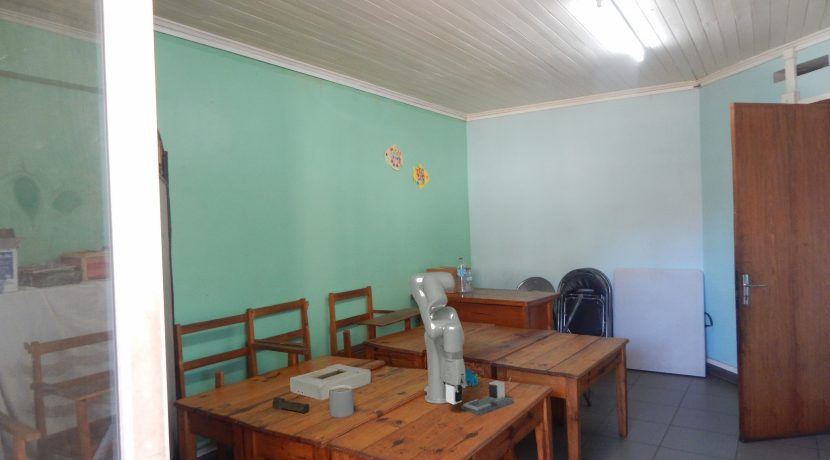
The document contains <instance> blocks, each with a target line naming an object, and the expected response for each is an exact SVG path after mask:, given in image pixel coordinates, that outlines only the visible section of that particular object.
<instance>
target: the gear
mask: <svg viewBox="0 0 830 460" xmlns="http://www.w3.org/2000/svg"><path fill="white" fill-rule="evenodd" d="M474 373H475V372H474V371H473V370H471V369H470V368H466V367H465V381H466V383H467V385H468V386H469V387H471V386H472V387H476V386H477V385H478V381H479V379H478V378H477V377H478V374H477V373H475V374H474Z"/></svg>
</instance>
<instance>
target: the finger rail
mask: <svg viewBox="0 0 830 460" xmlns="http://www.w3.org/2000/svg"><path fill="white" fill-rule="evenodd" d="M505 390H506V389H505V382H504V381H501V380H493V381H491V382H489V383H488V396H485V397H483V398H480V399H474V400H470V401H467V402H464V403H463V405H461V410H463V411H464V412H468V413H471V414H473V415H477V416H482V415H485V414H487V413H491V412H493V411H496V410H499V409H501V408H504V407H506V406H509V405H512V404H514V398H510V397H506V394H505Z"/></svg>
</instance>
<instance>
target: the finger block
mask: <svg viewBox="0 0 830 460" xmlns="http://www.w3.org/2000/svg"><path fill="white" fill-rule="evenodd" d="M458 388H459V386H458ZM455 392H456V388H455V385H452V384H449V383H448V384H446V402H448V403H449V404H452V405H457V404H459V403H462V402H463V399H462V400H461V401H459V402H455Z"/></svg>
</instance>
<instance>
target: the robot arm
mask: <svg viewBox="0 0 830 460" xmlns="http://www.w3.org/2000/svg"><path fill="white" fill-rule="evenodd" d="M408 282H409V283H408V285H409V289H410V293H411V295H412V298H413V299H414V301H415V303H416V304H417V306H418V310H419V313H420V317H421V320H422V322H423V323H422V324H423V326H424V329H425V332H424V334H423V335H424V343H425V349H426V362H427V364H426V365H427V385H426V386H425V387H424V389H423V391H424V392H426V395H425V396H424V400H425V401H426V402H428V403H430V404H439V405H440V404H441V405H442V404H447V403H449V402H446V384H448V383H449V384H452V385H455V388H456V392H455V402H459V401H461V400H462V401H463V391H464V390H465V388H467V387H468V386H469V385H468V382H467V383H466V381H465V368H466V367H465V361H464V356H463V355H464V354H463V351H464V350H463V345H464V344H465V333H464V330H463V326H462V324H461V321H460V318H459V315H458V313H457V311H456V309H455V308H454V307H452V306H447V304H448V297H447V294H446V292H451V291H454V289H455V287H456V286H455V285H456V284H455V283H456V281H455V278H454V275H452V274H451V273H450V272H447V271H446V272H445V271H431V272H430V271H429V272H417V273H414V274H412V275H411V276H410V278H409V281H408ZM458 386H459V388H458Z"/></svg>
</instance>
